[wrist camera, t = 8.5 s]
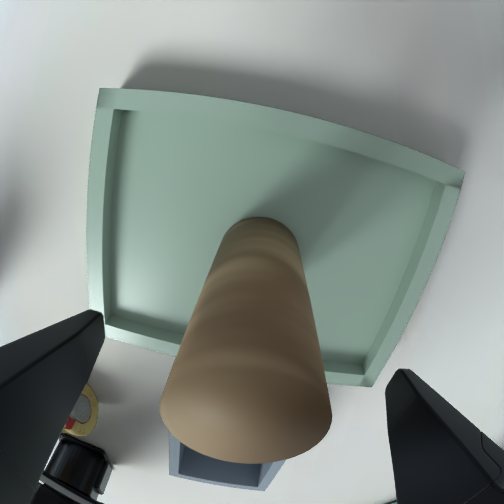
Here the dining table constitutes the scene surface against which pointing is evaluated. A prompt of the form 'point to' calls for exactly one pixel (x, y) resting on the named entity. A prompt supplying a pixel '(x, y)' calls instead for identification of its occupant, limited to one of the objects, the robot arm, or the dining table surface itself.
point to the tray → (259, 205)
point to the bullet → (83, 414)
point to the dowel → (250, 355)
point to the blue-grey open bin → (219, 469)
